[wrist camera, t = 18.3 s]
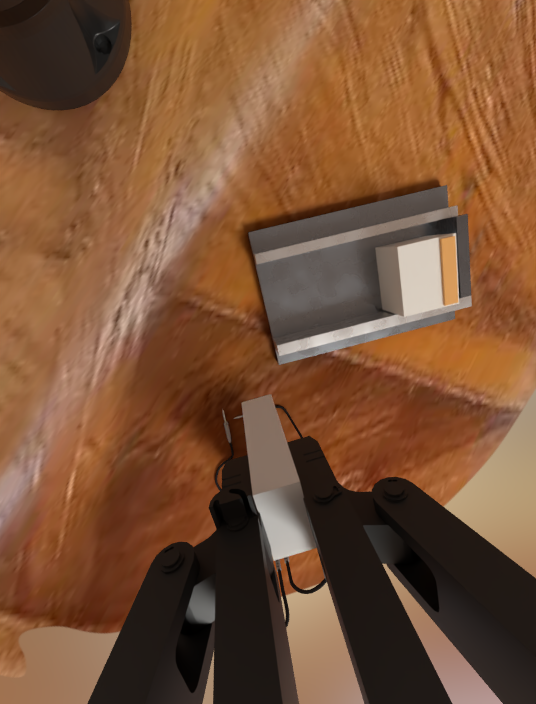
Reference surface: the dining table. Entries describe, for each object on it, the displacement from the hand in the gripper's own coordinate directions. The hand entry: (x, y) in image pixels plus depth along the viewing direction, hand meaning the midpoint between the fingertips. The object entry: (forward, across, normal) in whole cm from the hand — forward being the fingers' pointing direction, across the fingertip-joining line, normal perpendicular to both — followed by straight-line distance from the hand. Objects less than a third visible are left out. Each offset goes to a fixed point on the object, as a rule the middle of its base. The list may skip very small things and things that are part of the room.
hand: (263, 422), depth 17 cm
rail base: (+23, +14, +2) cm, 27 cm away
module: (+22, +19, +1) cm, 29 cm away
